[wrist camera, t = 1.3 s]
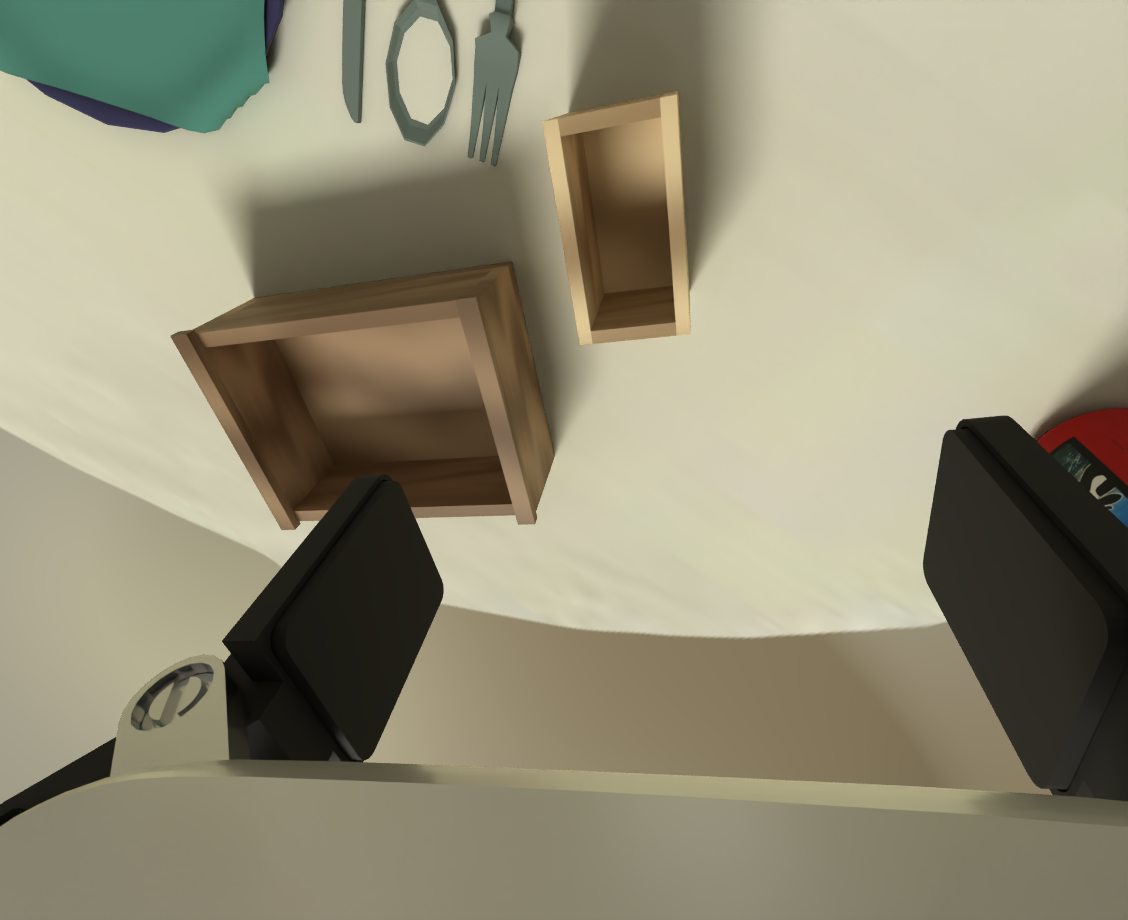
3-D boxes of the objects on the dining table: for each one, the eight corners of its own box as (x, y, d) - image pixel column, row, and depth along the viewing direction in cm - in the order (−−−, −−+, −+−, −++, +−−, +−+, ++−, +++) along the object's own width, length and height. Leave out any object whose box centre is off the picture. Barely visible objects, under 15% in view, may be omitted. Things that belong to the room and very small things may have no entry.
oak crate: (568, 112, 26) (542, 121, 21) (678, 90, 25) (677, 94, 20) (596, 302, 31) (579, 345, 26) (689, 291, 30) (690, 334, 25)
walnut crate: (250, 295, 34) (170, 336, 29) (512, 257, 30) (475, 296, 25) (334, 470, 41) (281, 529, 36) (556, 459, 37) (535, 524, 32)
